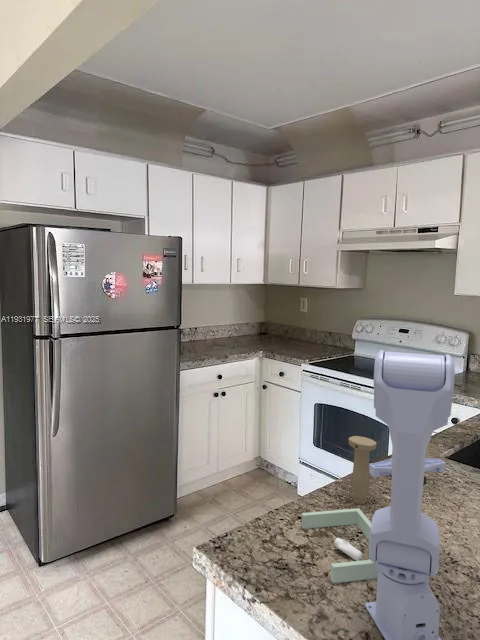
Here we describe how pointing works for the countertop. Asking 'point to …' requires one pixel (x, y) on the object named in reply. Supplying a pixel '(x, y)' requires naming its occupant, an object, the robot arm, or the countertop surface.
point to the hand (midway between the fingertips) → (405, 509)
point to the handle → (361, 467)
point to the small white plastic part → (348, 549)
